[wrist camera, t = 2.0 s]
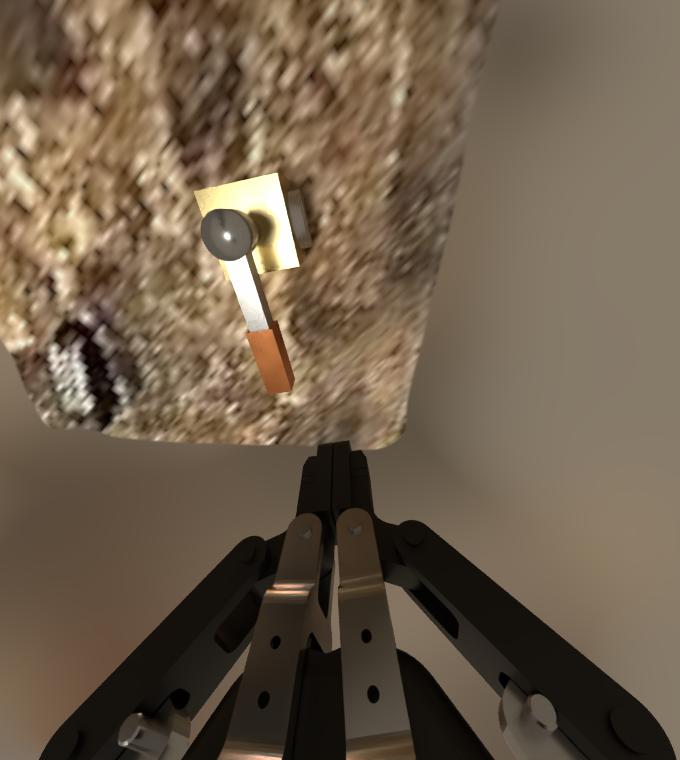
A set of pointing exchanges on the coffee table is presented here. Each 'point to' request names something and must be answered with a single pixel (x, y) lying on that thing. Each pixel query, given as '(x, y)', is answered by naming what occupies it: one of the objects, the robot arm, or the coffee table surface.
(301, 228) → the valve housing
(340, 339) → the coffee table surface
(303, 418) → the coffee table surface
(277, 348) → the valve lever
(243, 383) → the coffee table surface
